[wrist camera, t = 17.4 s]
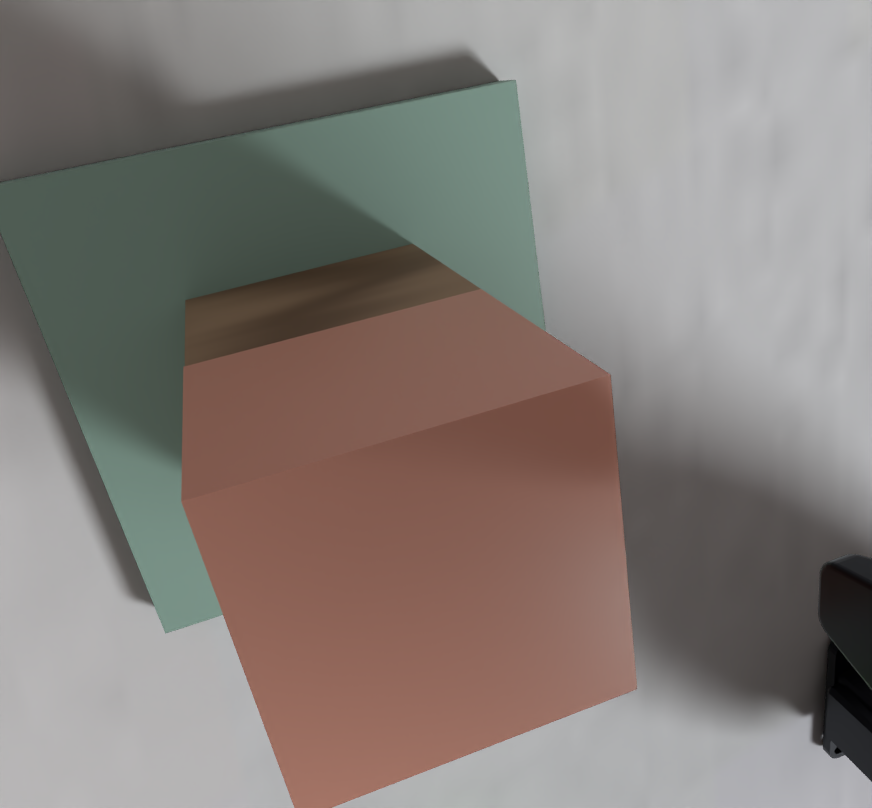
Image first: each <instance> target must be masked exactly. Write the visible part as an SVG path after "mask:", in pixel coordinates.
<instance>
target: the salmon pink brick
mask: <svg viewBox="0 0 872 808" xmlns="http://www.w3.org/2000/svg"><path fill="white" fill-rule="evenodd" d="M181 502H182V505H183V508H184V511H185V513H186V516H187V519H188V521H189V524H190V527H191V529H192V532H193V535H194V538H195V540H196V543H197V546H198V548H199V551H200V554H201V556H202V559H203V562H204V565H205V567H206V570H207V573H208V575H209V578H210V581H211V583H212V586H213V589H214V592H215V594H216V597H217V600H218V602H219V605H220V608H221V610H222V613H223V616H224V619H225V621H226V624H227V627H228V629H229V632H230V635H231V637H232V640H233V643H234V646H235V648H236V651H237V654H238V656H239V659H240V662H241V664H242V667H243V670H244V673H245V675H246V678H247V681H248V683H249V686H250V689H251V691H252V694H253V697H254V700H255V702H256V705H257V708H258V710H259V713H260V716H261V718H262V721H263V724H264V727H265V729H266V732H267V735H268V737H269V740H270V743H271V745H272V748H273V751H274V754H275V756H276V759H277V762H278V764H279V767H280V770H281V772H282V775H283V778H284V781H285V783H286V786H287V789H288V791H289V794H290V797H291V799H292V802H293V805H294V808H332V807H334V806H337V805H340V804H342V803H345V802H347V801H350V800H352V799H355V798H358V797H360V796H363V795H365V794H368V793H371V792H373V791H376V790H378V789H381V788H383V787H386V786H389V785H391V784H394V783H396V782H399V781H401V780H404V779H407V778H409V777H412V776H414V775H417V774H419V773H422V772H425V771H427V770H430V769H432V768H435V767H438V766H440V765H443V764H445V763H448V762H450V761H453V760H456V759H458V758H461V757H463V756H466V755H468V754H471V753H474V752H476V751H479V750H481V749H484V748H486V747H489V746H492V745H494V744H497V743H499V742H502V741H505V740H507V739H510V738H512V737H515V736H517V735H520V734H523V733H525V732H528V731H530V730H533V729H535V728H538V727H541V726H543V725H546V724H548V723H551V722H554V721H556V720H559V719H561V718H564V717H566V716H569V715H572V714H574V713H577V712H579V711H582V710H584V709H587V708H590V707H592V706H595V705H597V704H600V703H602V702H605V701H608V700H610V699H613V698H615V697H618V696H621V695H623V694H626V693H628V692H631V691H633V690H636V689H637V681H636V669H635V657H634V645H633V634H632V622H631V610H630V598H629V587H628V575H627V563H626V551H625V539H624V528H623V516H622V504H621V492H620V480H619V469H618V457H617V445H616V433H615V422H614V410H613V398H612V386H611V375H610V374H609V373H607V372H606V371H604V370H603V369H601V368H600V367H598V366H597V365H595V364H594V363H592V362H591V361H589V360H588V359H586V358H585V357H583V356H582V355H580V354H579V353H577V352H576V351H574V350H572V349H571V348H569V347H568V346H566V345H565V344H563V343H562V342H560V341H559V340H557V339H556V338H554V337H553V336H551V335H550V334H548V333H547V332H545V331H544V330H542V329H541V328H539V327H538V326H536V325H535V324H533V323H532V322H530V321H529V320H527V319H526V318H524V317H523V316H521V315H520V314H518V313H517V312H515V311H514V310H512V309H511V308H509V307H508V306H506V305H505V304H503V303H502V302H500V301H499V300H497V299H496V298H494V297H493V296H491V295H490V294H488V293H487V292H485V291H484V290H482V289H479V290H475V291H471V292H467V293H463V294H459V295H456V296H452V297H448V298H444V299H440V300H437V301H433V302H429V303H425V304H421V305H417V306H414V307H410V308H406V309H402V310H398V311H394V312H391V313H387V314H383V315H379V316H375V317H372V318H368V319H364V320H360V321H356V322H352V323H349V324H345V325H341V326H337V327H333V328H330V329H326V330H322V331H318V332H314V333H310V334H307V335H303V336H299V337H295V338H291V339H287V340H284V341H280V342H276V343H272V344H268V345H265V346H261V347H257V348H253V349H249V350H245V351H242V352H238V353H234V354H230V355H226V356H223V357H219V358H215V359H211V360H207V361H203V362H200V363H196V364H192V365H188V366H184V367H183V421H182V484H181Z"/></svg>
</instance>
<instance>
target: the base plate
mask: <svg viewBox="0 0 872 808" xmlns="http://www.w3.org/2000/svg"><path fill="white" fill-rule="evenodd" d="M0 233H1V235H2V238H3V240H4V243H5V245H6V248H7V250H8V252H9V255H10V257H11V260H12V262H13V265H14V267H15V269H16V272H17V274H18V277H19V279H20V282H21V284H22V286H23V289H24V291H25V294H26V296H27V298H28V301H29V303H30V306H31V308H32V311H33V313H34V315H35V318H36V320H37V323H38V325H39V328H40V330H41V332H42V335H43V337H44V340H45V342H46V345H47V347H48V349H49V352H50V354H51V357H52V359H53V362H54V364H55V366H56V369H57V371H58V374H59V376H60V378H61V381H62V383H63V386H64V388H65V391H66V393H67V395H68V398H69V400H70V403H71V405H72V408H73V410H74V412H75V415H76V417H77V420H78V422H79V425H80V427H81V429H82V432H83V434H84V437H85V439H86V442H87V444H88V446H89V449H90V451H91V454H92V456H93V459H94V461H95V463H96V466H97V468H98V471H99V473H100V475H101V478H102V480H103V483H104V485H105V488H106V490H107V492H108V495H109V497H110V500H111V502H112V505H113V507H114V509H115V512H116V514H117V517H118V519H119V522H120V524H121V526H122V529H123V531H124V534H125V536H126V539H127V541H128V543H129V546H130V548H131V551H132V553H133V555H134V558H135V560H136V563H137V565H138V568H139V570H140V572H141V575H142V577H143V580H144V582H145V585H146V587H147V589H148V592H149V594H150V597H151V599H152V602H153V604H154V606H155V609H156V611H157V614H158V616H159V619H160V621H161V623H162V626H163V628H164V631H165V633H168V632H171V631H175V630H178V629H181V628H184V627H187V626H190V625H193V624H196V623H199V622H202V621H205V620H208V619H211V618H214V617H218V616H221V615H223V613H222V610H221V608H220V605H219V602H218V600H217V597H216V594H215V592H214V589H213V586H212V583H211V581H210V578H209V575H208V573H207V570H206V567H205V565H204V562H203V559H202V556H201V554H200V551H199V548H198V546H197V543H196V540H195V538H194V535H193V532H192V529H191V527H190V524H189V521H188V519H187V516H186V513H185V511H184V508H183V505H182V502H181V484H182V421H183V367H184V366H185V300H188V299H192V298H196V297H200V296H204V295H208V294H212V293H216V292H220V291H224V290H228V289H232V288H236V287H240V286H244V285H248V284H252V283H256V282H260V281H264V280H268V279H272V278H277V277H281V276H285V275H289V274H293V273H297V272H301V271H305V270H309V269H313V268H317V267H321V266H325V265H329V264H333V263H337V262H341V261H345V260H349V259H353V258H357V257H361V256H365V255H369V254H373V253H377V252H381V251H386V250H390V249H394V248H398V247H402V246H406V245H410V244H414V245H416V246H417V247H419V248H420V249H422V250H423V251H425V252H426V253H428V254H429V255H431V256H432V257H434V258H435V259H437V260H438V261H440V262H441V263H443V264H444V265H446V266H447V267H449V268H450V269H452V270H453V271H455V272H456V273H458V274H459V275H461V276H462V277H464V278H465V279H467V280H468V281H470V282H471V283H473V284H474V285H476V286H477V287H479V288H480V289H482V290H484V291H485V292H487V293H488V294H490V295H491V296H493V297H494V298H496V299H497V300H499V301H500V302H502V303H503V304H505V305H506V306H508V307H509V308H511V309H512V310H514V311H515V312H517V313H518V314H520V315H521V316H523V317H524V318H526V319H527V320H529V321H530V322H532V323H533V324H535V325H536V326H538V327H539V328H541V329H542V330H544V331H545V323H544V314H543V306H542V297H541V289H540V280H539V272H538V264H537V255H536V247H535V238H534V230H533V221H532V213H531V204H530V196H529V187H528V179H527V171H526V162H525V154H524V145H523V137H522V128H521V120H520V111H519V103H518V94H517V86H516V80H507V81H497V82H492V83H487V84H482V85H477V86H472V87H467V88H463V89H458V90H453V91H448V92H443V93H438V94H433V95H428V96H423V97H418V98H413V99H408V100H403V101H398V102H394V103H389V104H384V105H379V106H374V107H369V108H364V109H359V110H354V111H349V112H344V113H339V114H334V115H329V116H324V117H320V118H315V119H310V120H305V121H300V122H295V123H290V124H285V125H280V126H275V127H270V128H265V129H260V130H255V131H251V132H246V133H241V134H236V135H231V136H226V137H221V138H216V139H211V140H206V141H201V142H196V143H191V144H186V145H182V146H177V147H172V148H167V149H162V150H157V151H152V152H147V153H142V154H137V155H132V156H127V157H122V158H117V159H113V160H108V161H103V162H98V163H93V164H88V165H83V166H78V167H73V168H68V169H63V170H58V171H53V172H48V173H43V174H39V175H34V176H29V177H24V178H19V179H14V180H9V181H4V182H0ZM545 332H546V331H545Z"/></svg>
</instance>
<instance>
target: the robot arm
mask: <svg viewBox="0 0 872 808" xmlns="http://www.w3.org/2000/svg"><path fill="white" fill-rule="evenodd" d="M818 616H819V620H820V622H821V625H822V627H823V629H824V631H825V632H826V633H827V635H828V636H829V637H830V639H831V640H832V642H831V644H830V645H829V649H828V664H827V682H826V699H825V717H824V734H823V749H824V750H825V751H826V752H827V753H828V755H829V756H830V757H832V758H839V757H841V756H844V755H846V756H847V757H848V758H849V759H850V760H851V761H852V762H853V763H854V764H855V765H856V766H857V767H858V768H859V769H860V770H861V771H862V772H863V773H864V774H865V775H866V776H867V777H868V778H869V779H870V780H871V781H872V558H868V557H865V556H861V555H857V554H849V555H845V556H842V557H840V558H837V559H834V560H832V561H829V562H827V563H825V564H824V565H823V566H822V568H821V570H820V581H819V601H818Z"/></svg>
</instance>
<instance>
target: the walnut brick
mask: <svg viewBox="0 0 872 808" xmlns="http://www.w3.org/2000/svg"><path fill="white" fill-rule="evenodd" d="M479 289H480V288H479V287H477V286H476V285H474V284H473V283H471V282H470V281H468V280H467V279H465V278H464V277H462V276H461V275H459V274H458V273H456V272H455V271H453V270H452V269H450V268H449V267H447V266H446V265H444V264H443V263H441V262H440V261H438V260H437V259H435V258H434V257H432V256H431V255H429V254H428V253H426V252H425V251H423V250H422V249H420V248H419V247H417V246H416V245H414V244H410V245H406V246H402V247H398V248H394V249H390V250H386V251H381V252H377V253H373V254H369V255H365V256H361V257H357V258H353V259H349V260H345V261H341V262H337V263H333V264H329V265H325V266H321V267H317V268H313V269H309V270H305V271H301V272H297V273H293V274H289V275H285V276H281V277H277V278H272V279H268V280H264V281H260V282H256V283H252V284H248V285H244V286H240V287H236V288H232V289H228V290H224V291H220V292H216V293H212V294H208V295H204V296H200V297H196V298H192V299H188V300H185V366H188V365H192V364H196V363H200V362H203V361H207V360H211V359H215V358H219V357H223V356H226V355H230V354H234V353H238V352H242V351H245V350H249V349H253V348H257V347H261V346H265V345H268V344H272V343H276V342H280V341H284V340H287V339H291V338H295V337H299V336H303V335H307V334H310V333H314V332H318V331H322V330H326V329H330V328H333V327H337V326H341V325H345V324H349V323H352V322H356V321H360V320H364V319H368V318H372V317H375V316H379V315H383V314H387V313H391V312H394V311H398V310H402V309H406V308H410V307H414V306H417V305H421V304H425V303H429V302H433V301H437V300H440V299H444V298H448V297H452V296H456V295H459V294H463V293H467V292H471V291H475V290H479Z"/></svg>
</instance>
